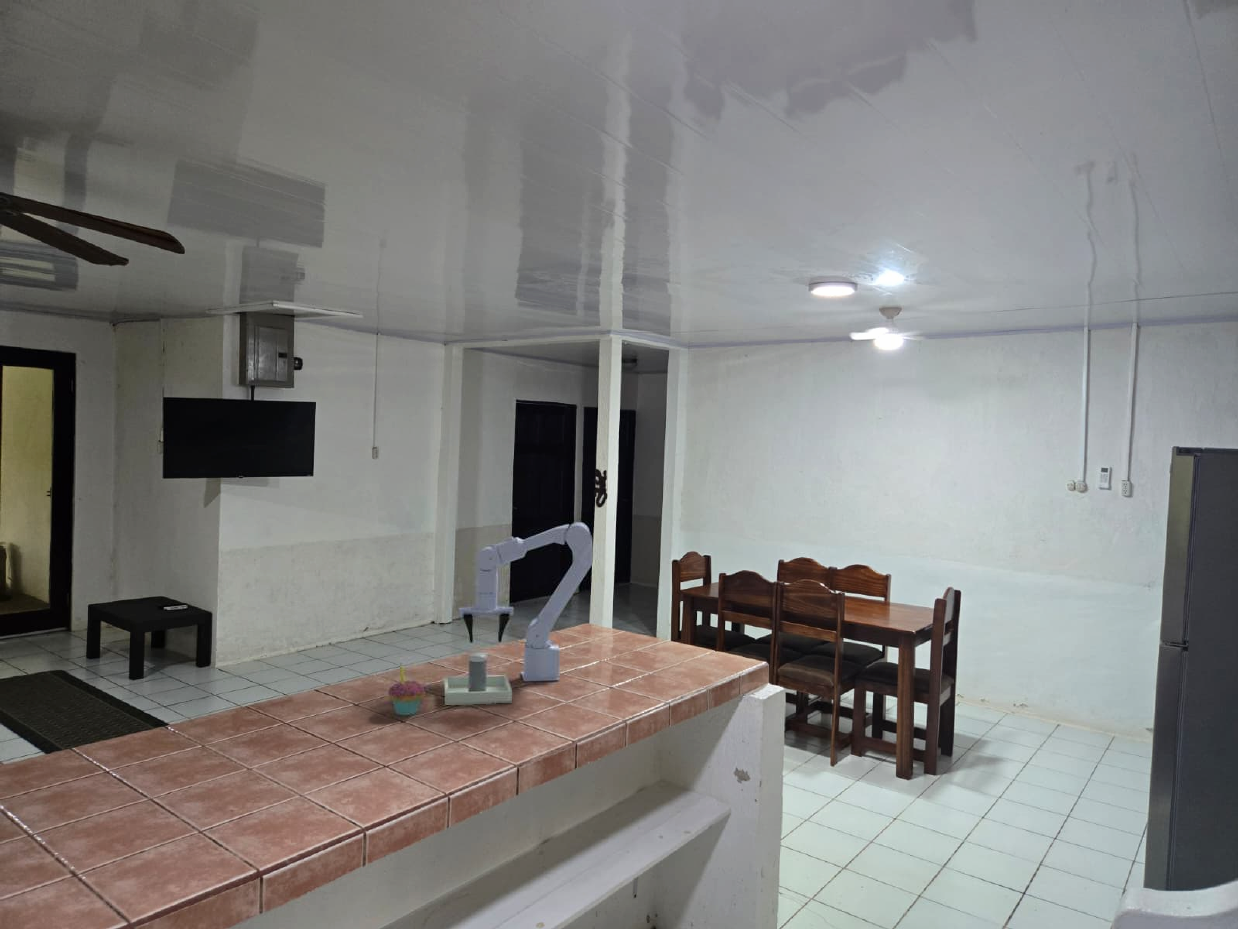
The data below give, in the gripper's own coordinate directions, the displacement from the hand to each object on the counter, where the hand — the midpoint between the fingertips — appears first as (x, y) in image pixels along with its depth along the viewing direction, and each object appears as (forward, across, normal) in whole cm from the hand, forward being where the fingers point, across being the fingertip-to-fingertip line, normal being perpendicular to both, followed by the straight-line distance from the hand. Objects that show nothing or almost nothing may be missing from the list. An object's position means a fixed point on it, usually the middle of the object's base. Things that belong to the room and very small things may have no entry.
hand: (485, 641), depth 223 cm
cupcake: (+10, -20, -27) cm, 35 cm away
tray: (+9, -3, -17) cm, 20 cm away
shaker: (+9, -3, -17) cm, 19 cm away
